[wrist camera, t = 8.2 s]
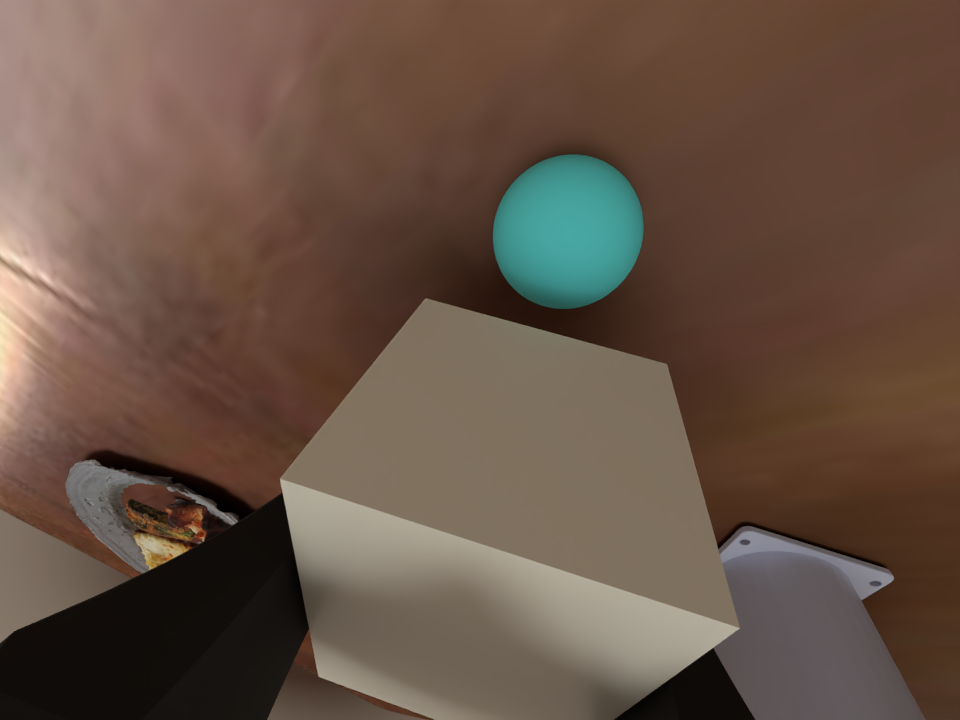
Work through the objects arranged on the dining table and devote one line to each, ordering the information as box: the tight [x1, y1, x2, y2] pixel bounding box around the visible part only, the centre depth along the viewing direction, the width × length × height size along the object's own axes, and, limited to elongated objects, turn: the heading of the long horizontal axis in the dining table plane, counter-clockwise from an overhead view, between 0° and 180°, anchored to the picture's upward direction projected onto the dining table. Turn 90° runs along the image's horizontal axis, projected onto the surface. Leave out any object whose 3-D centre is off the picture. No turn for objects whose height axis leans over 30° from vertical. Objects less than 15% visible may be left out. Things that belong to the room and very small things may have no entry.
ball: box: [493, 154, 644, 309], centre depth 14 cm, size 5×5×5 cm
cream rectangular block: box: [280, 298, 740, 720], centre depth 10 cm, size 8×6×6 cm
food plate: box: [65, 460, 241, 573], centre depth 39 cm, size 25×23×4 cm
